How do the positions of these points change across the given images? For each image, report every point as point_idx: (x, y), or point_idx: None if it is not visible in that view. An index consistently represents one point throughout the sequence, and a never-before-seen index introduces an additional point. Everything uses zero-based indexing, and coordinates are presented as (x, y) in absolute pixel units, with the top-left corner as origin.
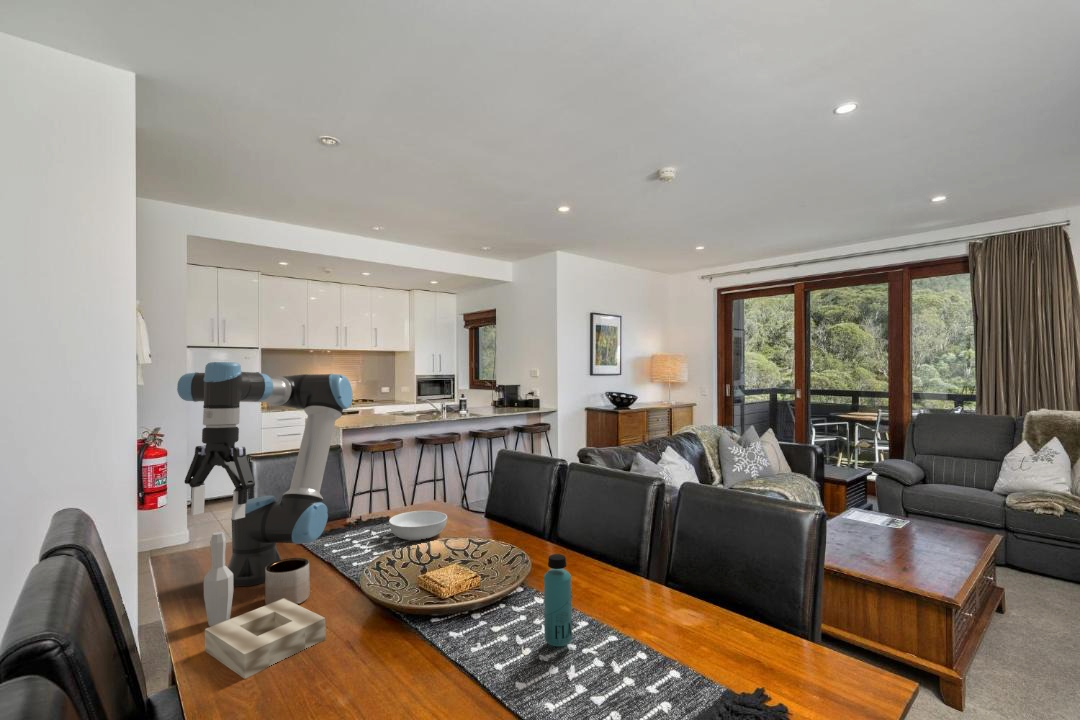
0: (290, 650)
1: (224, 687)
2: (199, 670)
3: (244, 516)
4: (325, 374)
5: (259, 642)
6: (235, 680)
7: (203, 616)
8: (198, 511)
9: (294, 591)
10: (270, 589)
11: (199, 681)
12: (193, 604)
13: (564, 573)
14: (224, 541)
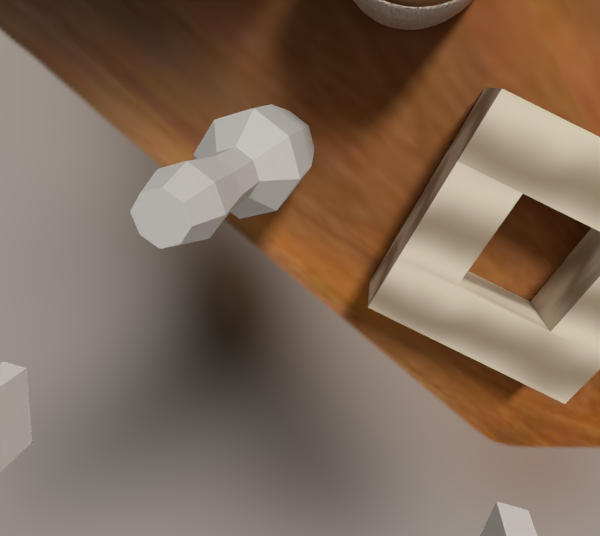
0: None
1: (515, 390)
2: (415, 344)
3: (527, 520)
4: None
5: (576, 358)
6: None
7: (214, 119)
8: (12, 423)
9: None
10: (394, 19)
11: (445, 376)
12: (115, 51)
13: None
14: (222, 203)
